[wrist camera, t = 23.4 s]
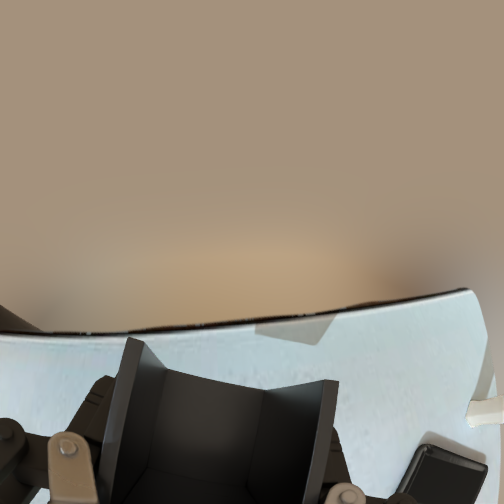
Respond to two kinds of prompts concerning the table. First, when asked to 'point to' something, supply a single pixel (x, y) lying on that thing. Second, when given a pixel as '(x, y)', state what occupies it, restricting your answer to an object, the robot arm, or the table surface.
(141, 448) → the holder
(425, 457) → the phone
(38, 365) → the table surface
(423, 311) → the table surface
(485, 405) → the perfume bottle
